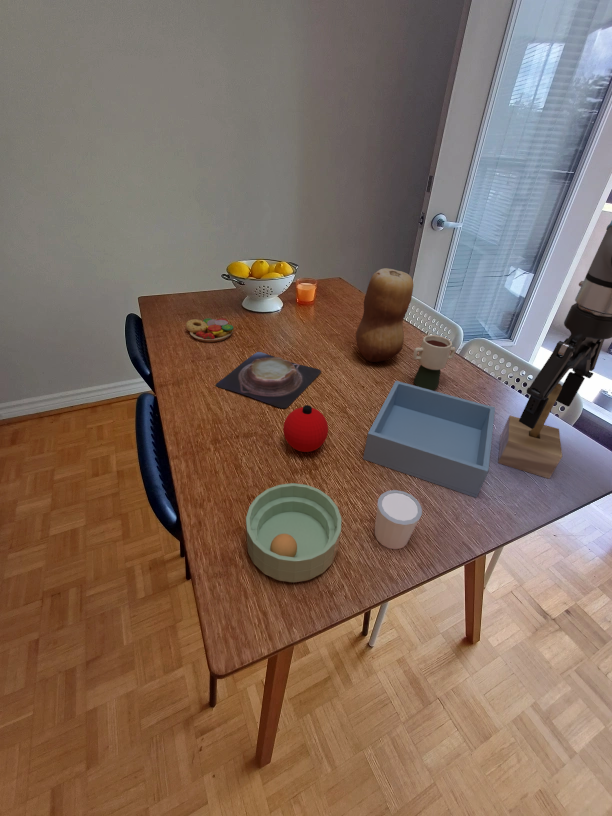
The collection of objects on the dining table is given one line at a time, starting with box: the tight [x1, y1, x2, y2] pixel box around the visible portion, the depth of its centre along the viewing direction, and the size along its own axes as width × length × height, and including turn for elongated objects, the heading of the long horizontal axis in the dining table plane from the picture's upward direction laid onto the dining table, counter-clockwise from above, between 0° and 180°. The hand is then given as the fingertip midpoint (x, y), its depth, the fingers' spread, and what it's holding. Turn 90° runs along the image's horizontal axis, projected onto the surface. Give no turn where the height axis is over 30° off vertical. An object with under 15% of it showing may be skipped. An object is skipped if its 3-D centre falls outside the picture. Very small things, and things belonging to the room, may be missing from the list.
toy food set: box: [185, 317, 234, 343], centre depth 121 cm, size 13×13×3 cm
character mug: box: [412, 334, 456, 391], centre depth 101 cm, size 11×7×13 cm, turn 99°
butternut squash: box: [355, 267, 414, 363], centre depth 108 cm, size 14×13×25 cm
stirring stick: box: [529, 382, 562, 438], centre depth 78 cm, size 2×2×18 cm
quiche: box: [215, 351, 322, 409], centre depth 102 cm, size 21×20×4 cm
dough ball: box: [270, 534, 297, 557], centre depth 59 cm, size 4×4×4 cm
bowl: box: [245, 482, 343, 583], centre depth 61 cm, size 14×14×6 cm
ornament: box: [282, 404, 329, 453], centre depth 79 cm, size 9×9×10 cm
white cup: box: [374, 489, 423, 550], centre depth 63 cm, size 7×7×7 cm
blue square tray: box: [362, 380, 496, 499], centre depth 83 cm, size 22×22×7 cm
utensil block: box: [497, 415, 563, 480], centre depth 82 cm, size 10×10×6 cm
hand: (544, 413), depth 77 cm, fingers open, 13 cm apart
